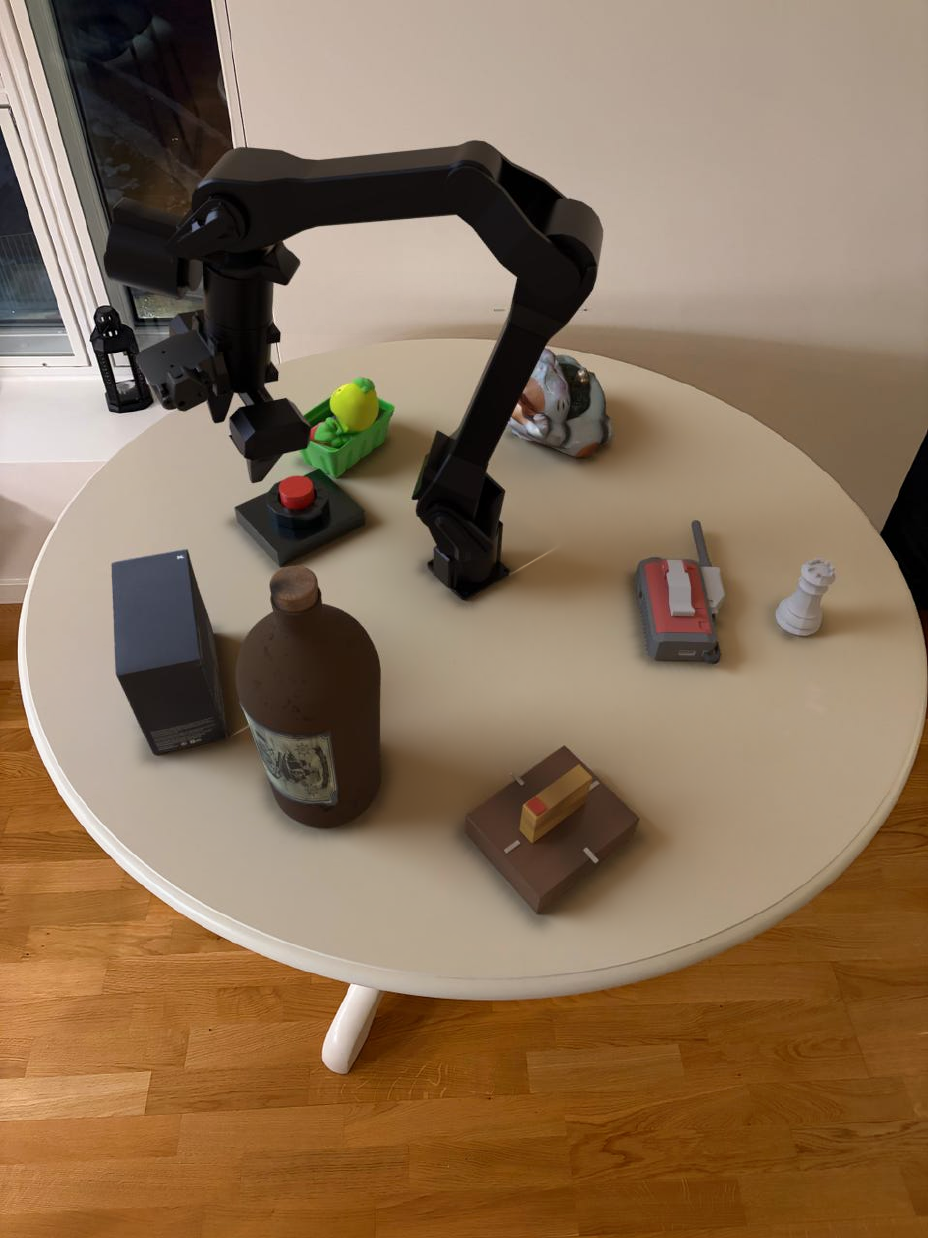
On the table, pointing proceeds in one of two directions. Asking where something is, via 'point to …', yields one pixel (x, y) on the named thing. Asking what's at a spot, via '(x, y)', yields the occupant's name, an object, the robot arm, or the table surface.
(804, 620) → the rook chess piece
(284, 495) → the button
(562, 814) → the rod knob
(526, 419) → the lucky cat figurine
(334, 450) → the fruit basket
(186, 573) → the small box
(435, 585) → the table surface
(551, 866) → the panel
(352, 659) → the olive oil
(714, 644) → the walkie-talkie
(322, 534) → the button block
